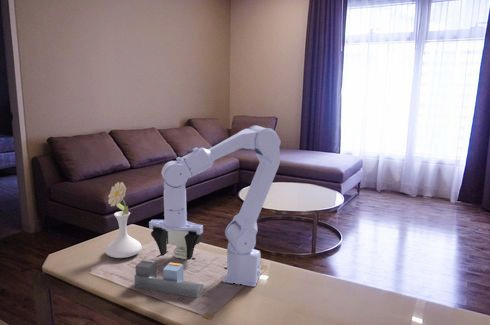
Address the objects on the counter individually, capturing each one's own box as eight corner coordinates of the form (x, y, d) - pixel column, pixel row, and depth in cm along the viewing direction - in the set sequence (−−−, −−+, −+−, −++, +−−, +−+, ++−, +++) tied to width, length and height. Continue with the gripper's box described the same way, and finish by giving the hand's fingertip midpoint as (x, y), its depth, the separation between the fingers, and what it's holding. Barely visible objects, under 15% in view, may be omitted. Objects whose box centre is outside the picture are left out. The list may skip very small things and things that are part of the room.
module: (183, 281, 99) (183, 263, 98) (177, 288, 95) (176, 270, 94) (170, 279, 100) (169, 261, 99) (163, 286, 96) (163, 268, 95)
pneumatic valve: (195, 263, 111) (195, 227, 109) (163, 257, 115) (162, 221, 113) (203, 256, 116) (203, 221, 114) (172, 250, 120) (171, 216, 118)
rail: (203, 287, 98) (203, 266, 96) (196, 297, 93) (196, 275, 92) (144, 278, 102) (143, 258, 101) (134, 287, 97) (133, 266, 96)
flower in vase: (104, 249, 120) (99, 177, 115) (139, 244, 125) (136, 174, 120) (107, 266, 108) (102, 187, 104) (145, 259, 113) (142, 183, 108)
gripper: (142, 209, 91) (144, 259, 93) (195, 215, 87) (196, 266, 90) (155, 201, 98) (157, 248, 100) (205, 206, 94) (206, 254, 97)
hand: (176, 256), depth 96 cm, fingers open, 7 cm apart
